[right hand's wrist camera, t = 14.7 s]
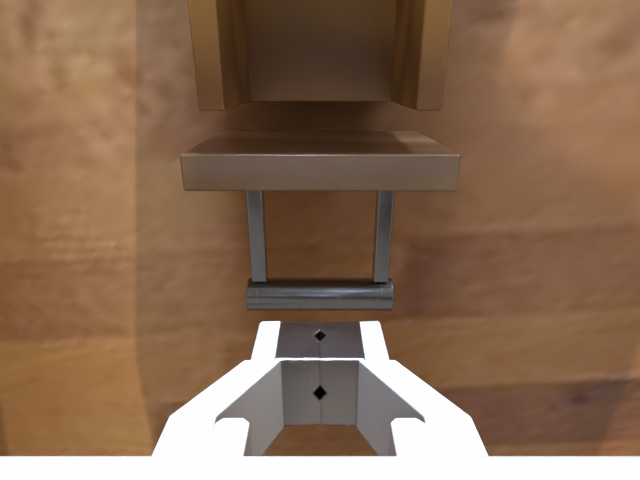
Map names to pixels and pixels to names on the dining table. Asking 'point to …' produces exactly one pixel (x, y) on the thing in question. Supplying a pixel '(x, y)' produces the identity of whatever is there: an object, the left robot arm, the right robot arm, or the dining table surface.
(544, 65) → the dining table surface
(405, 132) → the drawer
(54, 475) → the right robot arm
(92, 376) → the dining table surface
